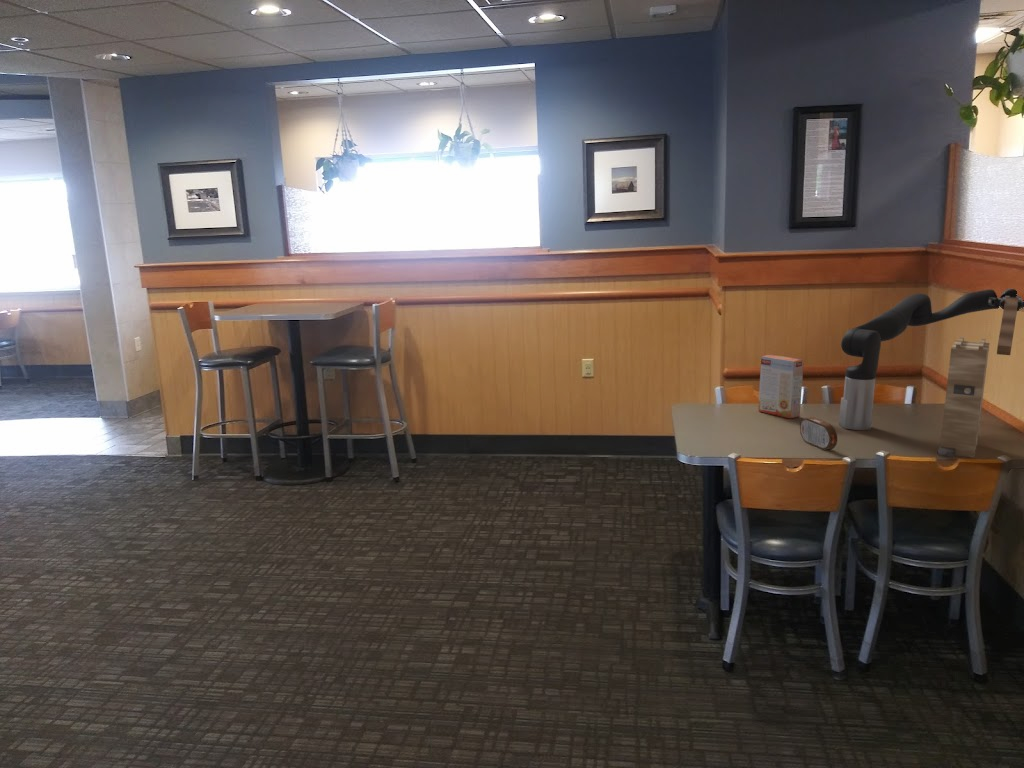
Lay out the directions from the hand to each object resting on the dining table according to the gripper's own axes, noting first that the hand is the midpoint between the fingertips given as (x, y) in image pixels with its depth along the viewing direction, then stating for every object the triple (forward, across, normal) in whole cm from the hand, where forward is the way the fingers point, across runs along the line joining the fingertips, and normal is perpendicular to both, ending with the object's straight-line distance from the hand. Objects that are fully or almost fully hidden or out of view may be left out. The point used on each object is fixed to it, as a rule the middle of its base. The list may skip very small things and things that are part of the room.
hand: (1011, 305), depth 245 cm
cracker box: (+13, -66, +42) cm, 80 cm away
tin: (+47, -45, +42) cm, 77 cm away
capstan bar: (+6, 0, +7) cm, 9 cm away
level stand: (+30, -8, +42) cm, 52 cm away
